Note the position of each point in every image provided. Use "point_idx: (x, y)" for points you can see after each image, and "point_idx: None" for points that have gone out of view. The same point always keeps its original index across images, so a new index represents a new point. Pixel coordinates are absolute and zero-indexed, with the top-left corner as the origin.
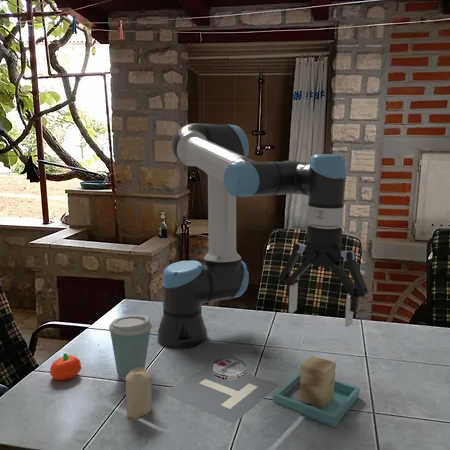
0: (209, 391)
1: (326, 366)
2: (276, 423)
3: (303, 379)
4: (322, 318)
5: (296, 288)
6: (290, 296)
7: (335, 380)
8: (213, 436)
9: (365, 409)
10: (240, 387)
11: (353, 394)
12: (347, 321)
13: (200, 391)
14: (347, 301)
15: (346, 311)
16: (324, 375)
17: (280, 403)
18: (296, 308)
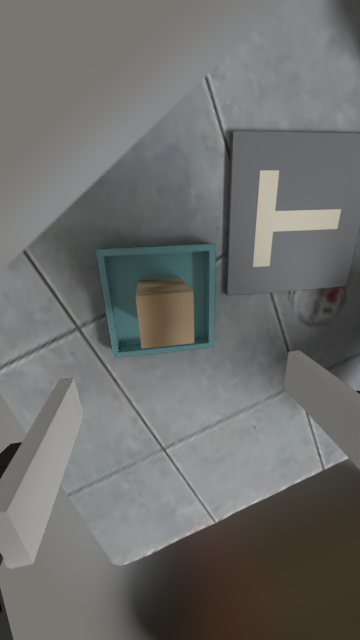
0: (314, 197)
1: (148, 322)
2: (178, 196)
3: (180, 286)
4: (260, 494)
5: (357, 452)
6: (348, 390)
7: (155, 352)
8: (245, 79)
9: (91, 328)
10: (275, 245)
11: (110, 334)
12: (56, 393)
13: (327, 186)
14: (13, 482)
15: (46, 425)
16: (137, 294)
17: (198, 244)
18: (286, 388)
